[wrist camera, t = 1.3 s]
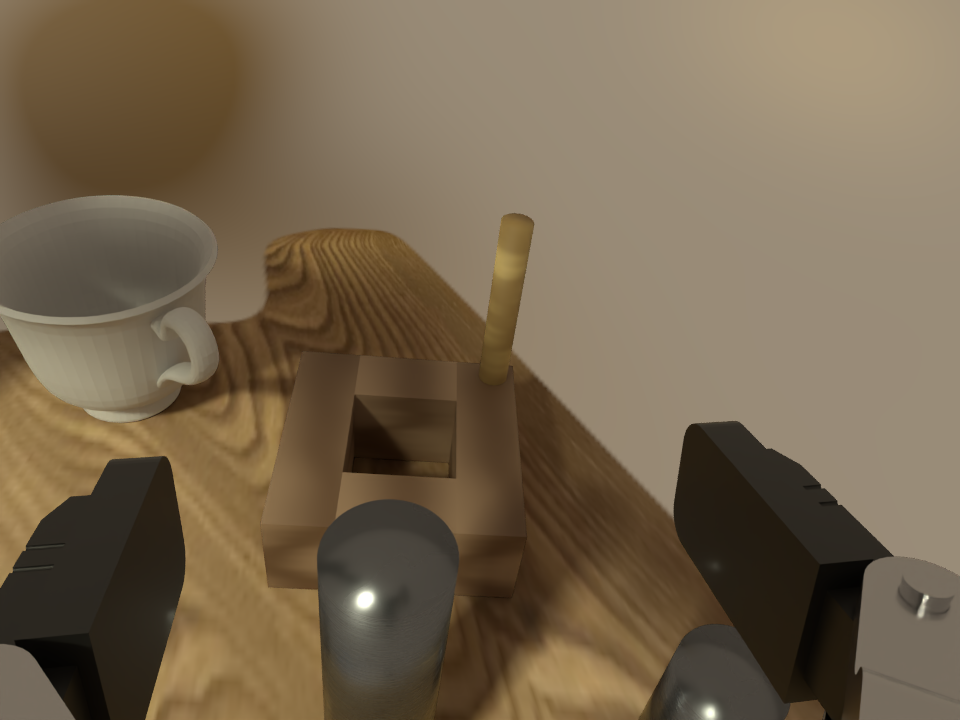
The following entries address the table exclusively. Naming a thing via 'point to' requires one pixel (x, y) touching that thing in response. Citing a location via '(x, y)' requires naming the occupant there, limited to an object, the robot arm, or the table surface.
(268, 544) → the hole block
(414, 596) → the long pin
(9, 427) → the table surface
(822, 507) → the robot arm
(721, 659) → the short pin
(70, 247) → the teacup
